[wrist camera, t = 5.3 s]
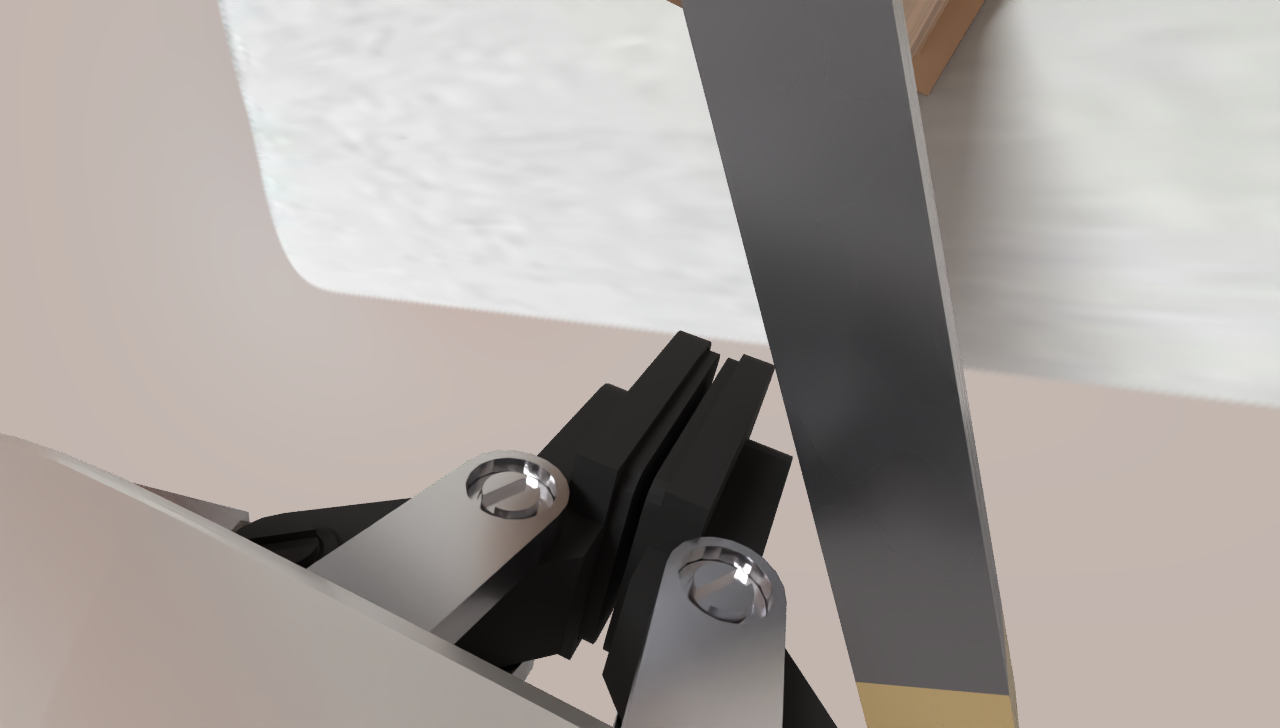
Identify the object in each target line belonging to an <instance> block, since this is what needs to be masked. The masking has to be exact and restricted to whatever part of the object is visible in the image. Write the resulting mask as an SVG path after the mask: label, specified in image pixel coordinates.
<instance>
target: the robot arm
mask: <svg viewBox="0 0 1280 728" xmlns="http://www.w3.org/2000/svg"><path fill="white" fill-rule="evenodd" d="M710 348H711V342H710V341H707V340H705V339H702V338H699V337H697V336H694V335H691V334H689V333H686V332H683V331H679V332H678V333H677V334H676V335H675V336H674V337H673V339H672V340H671V341H670V342H669V343H668V344H667V346H666V347H665V348H664V349H663V350H662V352H661V353H660V354H659V355H658V356H657V358H656V359H655V360H654V361H653V362H652V363H651V365H650V366H649V367H648V368H647V369H646V371H645V372H644V373H643V374H642V375H641V377H640V378H639V379H638V380H637V381H636V382H635V384H634V385H633V386H632V387H631V388H630V390H629V391H626V390H624V389H621V388H619V387H616V386H614V385H611V384H604V385H603V386H602V387H601V388H600V389H599V390H598V391H597V392H596V393H595V394H594V395H593V397H592V398H591V399H590V400H589V401H588V402H587V403H586V404H585V405H584V406H583V407H582V408H581V409H580V410H579V411H578V413H577V414H576V415H575V416H574V417H573V418H572V419H571V420H570V421H569V422H568V423H567V424H566V425H565V427H563V429H562V430H561V431H560V432H559V433H558V434H557V435H556V436H555V437H554V438H553V439H552V440H551V441H550V442H549V444H548V445H547V446H546V447H545V448H544V449H543V450H542V451H541V452H540V453H539V454H538V455H537V456H535V455H533V454H530V453H525V452H520V451H494V452H489V453H485V454H481V455H479V456H477V457H475V458H473V459H471V460H468V461H467V462H465V463H464V464H462V465H461V466H459V467H458V468H456V469H455V470H453V471H452V472H451V473H449V474H448V475H446V476H444V477H443V478H441V479H440V480H438V481H437V482H436V483H434V484H432V485H431V486H429V487H428V488H426V489H425V490H423V491H422V492H420V493H419V494H417V495H416V496H414V497H413V498H408V499H399V500H391V501H382V502H374V503H366V504H357V505H348V506H340V507H332V508H323V509H315V510H307V511H298V512H290V513H283V514H278V515H273V516H269V517H264V518H261V519H259V520H256V521H254V522H252V523H251V522H249V513H248V512H246V511H242V510H238V509H234V508H230V507H226V506H222V505H218V504H214V503H210V502H206V501H203V500H198V499H195V498H190V497H187V496H183V495H179V494H175V493H171V492H167V491H163V490H159V489H155V488H151V487H147V486H143V485H139V484H135V483H132V482H130V481H128V480H125V479H124V478H121V477H119V476H117V475H114V474H112V473H110V472H107V471H105V470H103V469H100V468H98V467H96V466H93V465H91V464H88V463H86V462H84V461H82V460H79V459H77V458H74V457H72V456H70V455H67V454H65V453H62V452H59V451H56V450H53V449H50V448H47V447H44V446H41V445H39V444H36V443H32V442H30V441H27V440H24V439H20V438H17V437H14V436H9V435H5V434H1V433H0V728H837V726H836V725H835V723H834V722H833V720H832V719H831V717H830V716H829V714H828V713H827V711H826V710H825V708H824V706H823V705H822V703H821V702H820V700H819V699H818V697H817V696H816V694H815V693H814V691H813V690H812V688H811V687H810V685H809V684H808V682H807V681H806V679H805V677H804V676H803V675H802V673H801V671H800V670H799V668H798V667H797V665H796V664H795V662H794V661H793V659H792V658H791V656H790V655H789V654H788V652H787V650H786V649H785V632H786V597H785V590H784V586H783V584H782V582H781V580H780V578H779V576H778V575H777V573H776V571H775V570H774V569H773V568H772V567H771V566H770V565H769V564H768V562H767V561H766V560H765V559H764V558H762V556H763V553H764V549H765V546H766V543H767V539H768V536H769V533H770V530H771V527H772V524H773V520H774V517H775V513H776V511H777V507H778V504H779V501H780V498H781V495H782V491H783V488H784V485H785V481H786V478H787V475H788V472H789V469H790V466H791V462H792V458H793V457H792V456H790V455H788V454H785V453H782V452H780V451H777V450H775V449H772V448H770V447H767V446H765V445H762V444H760V443H757V442H755V441H752V440H750V439H749V438H750V435H751V432H752V430H753V427H754V424H755V421H756V419H757V416H758V413H759V410H760V407H761V405H762V402H763V400H764V397H765V394H766V391H767V389H768V386H769V383H770V381H771V378H772V375H773V372H774V369H775V366H774V365H772V364H770V363H767V362H764V361H761V360H759V359H756V358H753V357H751V356H748V355H745V354H744V355H743V356H742V358H741V359H740V361H736V360H733V359H731V358H728V359H727V360H726V362H725V363H724V365H723V367H722V368H721V370H720V372H719V373H718V375H717V377H716V378H715V380H714V382H713V378H714V375H715V372H716V369H717V366H718V362H719V359H720V354H718V353H715V352H712V351H710ZM712 382H713V383H712ZM613 609H614V610H613ZM612 611H613V614H612V618H611V621H610V624H609V628H608V631H607V635H606V638H605V643H604V646H603V649H604V650H605V651H608V652H609V654H608V657H607V660H606V664H605V667H604V671H603V674H602V675H603V678H604V680H605V682H606V685H607V688H608V690H609V692H610V695H611V697H612V700H613V703H614V705H615V707H616V710H617V715H616V718H615V722H614V724H613V727H612V726H610V725H608V724H606V723H604V722H602V721H600V720H598V719H596V718H594V717H592V716H590V715H588V714H586V713H585V712H583V711H581V710H579V709H577V708H575V707H573V706H571V705H569V704H567V703H565V702H563V701H562V700H560V699H558V698H556V697H554V696H552V695H550V694H548V693H546V692H544V691H542V690H540V689H538V688H536V687H534V686H532V685H531V684H529V683H527V682H525V679H526V678H527V676H528V674H529V673H530V671H531V670H532V668H533V663H534V659H538V658H543V657H547V656H551V655H555V654H558V655H560V656H563V657H564V658H567V659H568V660H570V659H571V657H572V655H573V654H574V652H575V650H576V648H577V647H578V645H579V643H580V641H581V640H582V639H583V640H586V641H588V642H590V643H592V644H594V643H595V642H596V640H597V638H598V637H599V635H600V633H601V631H602V629H603V627H604V626H605V624H606V622H607V620H608V618H609V616H610V615H611V613H612Z"/></svg>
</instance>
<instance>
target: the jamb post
mask: <svg viewBox="0 0 1280 728" xmlns="http://www.w3.org/2000/svg"><path fill="white" fill-rule="evenodd" d="M667 1H669V2H671V3H673V4H675V5H677V6H679V7H681V8H683V7H682V3H681V0H667ZM984 1H985V0H902V3H903V9H904V15H905V21H906V27H907V33H908V39H909V45H910V51H911V57H912V63H913V70H914V76H915V82H916V88H917V91H918V92H920V93H922V94H924V95H926V96H928V95H929V93H930V91H931V90H932V88H933V86H934V85H935V83H936V81H937V80H938V78H939V76H940V75H941V73H942V71H943V70H944V68H945V66H946V65H947V63H948V61H949V60H950V58H951V56H952V54H953V53H954V51H955V49H956V48H957V46H958V44H959V43H960V41H961V39H962V38H963V36H964V34H965V33H966V31H967V29H968V28H969V26H970V24H971V23H972V21H973V19H974V18H975V16H976V14H977V13H978V11H979V9H980V8H981V6H982V4H983V3H984Z"/></svg>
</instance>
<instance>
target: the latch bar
mask: <svg viewBox="0 0 1280 728" xmlns="http://www.w3.org/2000/svg"><path fill="white" fill-rule="evenodd" d="M681 3H682V7H683V11H684V15H685V19H686V23H687V27H688V31H689V35H690V38H691V42H692V46H693V50H694V54H695V58H696V62H697V66H698V70H699V74H700V77H701V81H702V85H703V89H704V93H705V97H706V101H707V105H708V109H709V112H710V116H711V120H712V124H713V128H714V132H715V136H716V140H717V144H718V148H719V151H720V155H721V159H722V163H723V167H724V171H725V175H726V179H727V183H728V186H729V190H730V194H731V198H732V202H733V206H734V210H735V214H736V218H737V222H738V225H739V229H740V233H741V237H742V241H743V245H744V249H745V253H746V257H747V260H748V264H749V268H750V272H751V276H752V280H753V284H754V288H755V292H756V296H757V299H758V303H759V307H760V311H761V315H762V319H763V323H764V327H765V331H766V334H767V338H768V342H769V346H770V350H771V354H772V358H773V362H774V366H775V369H776V373H777V377H778V381H779V385H780V389H781V393H782V397H783V401H784V405H785V408H786V412H787V416H788V420H789V424H790V428H791V432H792V436H793V440H794V443H795V447H796V451H797V455H798V459H799V463H800V466H801V471H802V475H803V479H804V482H805V486H806V490H807V494H808V498H809V502H810V505H811V510H812V513H813V517H814V521H815V525H816V529H817V533H818V537H819V541H820V545H821V549H822V553H823V556H824V560H825V564H826V568H827V572H828V576H829V580H830V584H831V588H832V591H833V595H834V599H835V603H836V607H837V611H838V615H839V619H840V622H841V626H842V630H843V634H844V638H845V642H846V646H847V650H848V654H849V658H850V662H851V665H852V669H853V673H854V677H855V681H856V685H857V689H858V693H859V696H860V701H861V704H862V708H863V712H864V716H865V720H866V723H867V728H1019V725H1018V713H1017V703H1016V692H1015V683H1014V677H1013V671H1012V665H1011V659H1010V653H1009V647H1008V641H1007V635H1006V629H1005V623H1004V616H1003V610H1002V604H1001V599H1000V592H999V586H998V580H997V574H996V568H995V562H994V556H993V550H992V543H991V538H990V532H989V526H988V519H987V514H986V507H985V501H984V495H983V489H982V483H981V477H980V471H979V465H978V458H977V453H976V446H975V440H974V434H973V429H972V422H971V416H970V410H969V404H968V398H967V392H966V386H965V380H964V373H963V367H962V361H961V355H960V349H959V343H958V337H957V331H956V325H955V319H954V313H953V307H952V300H951V294H950V288H949V282H948V276H947V270H946V264H945V258H944V252H943V246H942V240H941V234H940V228H939V221H938V215H937V209H936V203H935V197H934V191H933V185H932V179H931V173H930V167H929V161H928V155H927V149H926V142H925V136H924V130H923V124H922V118H921V112H920V106H919V100H918V94H917V88H916V82H915V76H914V70H913V63H912V57H911V51H910V45H909V39H908V33H907V27H906V21H905V15H904V9H903V3H902V0H681Z"/></svg>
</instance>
